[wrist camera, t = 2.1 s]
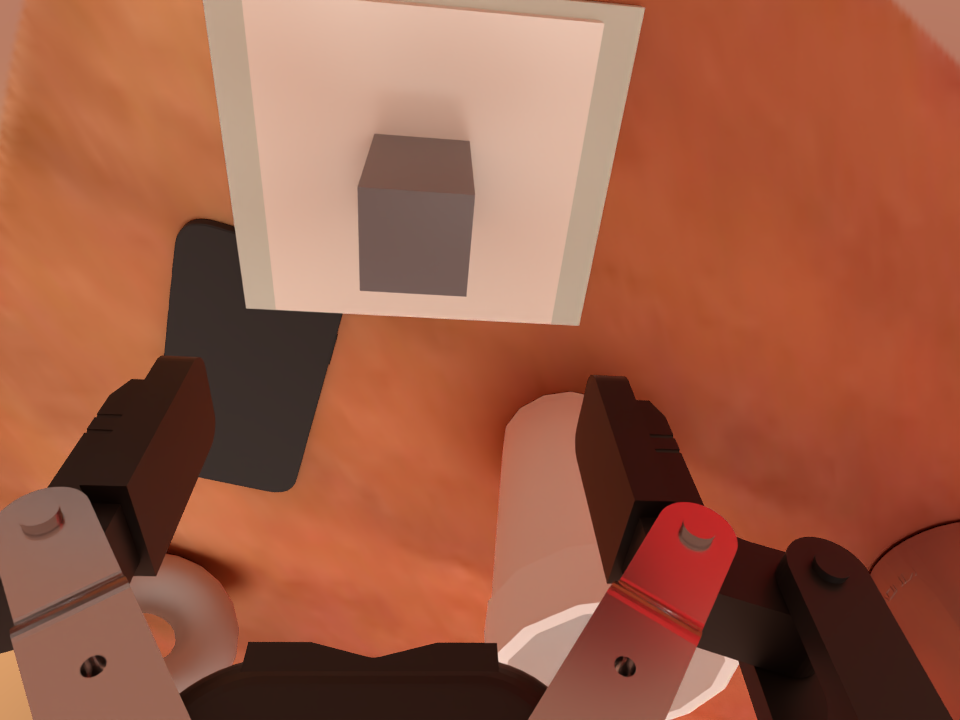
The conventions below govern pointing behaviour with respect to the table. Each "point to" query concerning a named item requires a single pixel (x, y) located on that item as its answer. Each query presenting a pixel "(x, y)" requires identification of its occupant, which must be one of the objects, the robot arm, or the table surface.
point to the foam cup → (558, 555)
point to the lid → (418, 154)
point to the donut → (190, 618)
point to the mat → (617, 34)
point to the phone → (246, 361)
